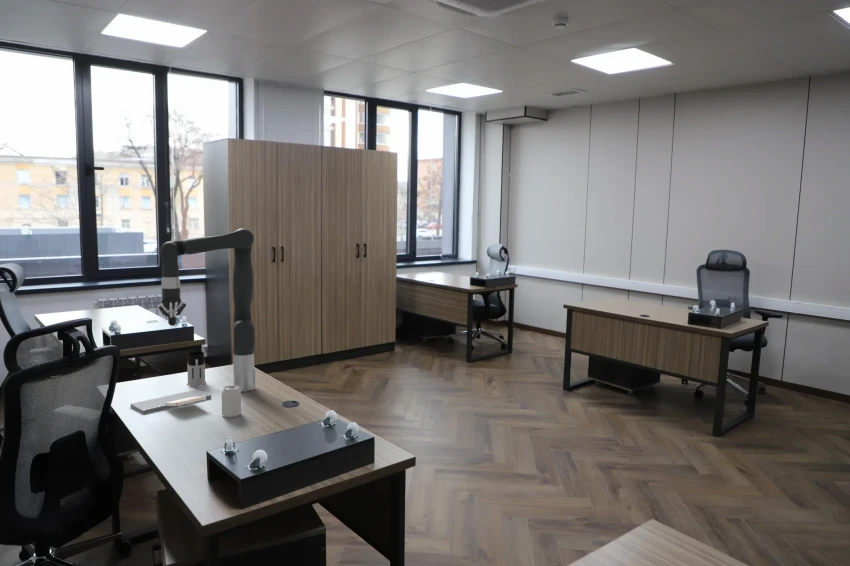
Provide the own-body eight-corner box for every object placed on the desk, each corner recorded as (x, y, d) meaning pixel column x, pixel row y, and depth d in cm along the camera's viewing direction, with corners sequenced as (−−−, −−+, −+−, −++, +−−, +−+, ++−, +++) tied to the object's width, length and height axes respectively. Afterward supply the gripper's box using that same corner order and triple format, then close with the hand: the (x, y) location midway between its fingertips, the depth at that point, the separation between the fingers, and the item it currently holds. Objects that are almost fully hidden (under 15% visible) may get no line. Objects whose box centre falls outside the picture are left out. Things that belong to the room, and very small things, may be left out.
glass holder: (205, 380, 292) (205, 350, 291) (207, 388, 280) (206, 357, 278) (186, 382, 289) (185, 351, 287) (187, 390, 276) (186, 358, 274)
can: (244, 412, 248) (243, 384, 247) (236, 419, 241) (236, 390, 239) (226, 411, 249) (226, 383, 247) (218, 417, 241) (218, 389, 240)
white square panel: (192, 396, 259) (205, 396, 251) (192, 399, 258) (206, 399, 250) (164, 402, 250) (177, 402, 242) (165, 405, 250) (178, 405, 242)
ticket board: (198, 392, 274) (197, 388, 273) (211, 398, 266) (211, 394, 266) (130, 407, 251) (130, 403, 251) (143, 414, 243) (142, 410, 243)
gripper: (159, 288, 257) (161, 328, 259) (189, 286, 267) (190, 324, 269) (152, 287, 262) (153, 326, 264) (181, 284, 272) (182, 322, 274)
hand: (172, 325), depth 266 cm, fingers closed
